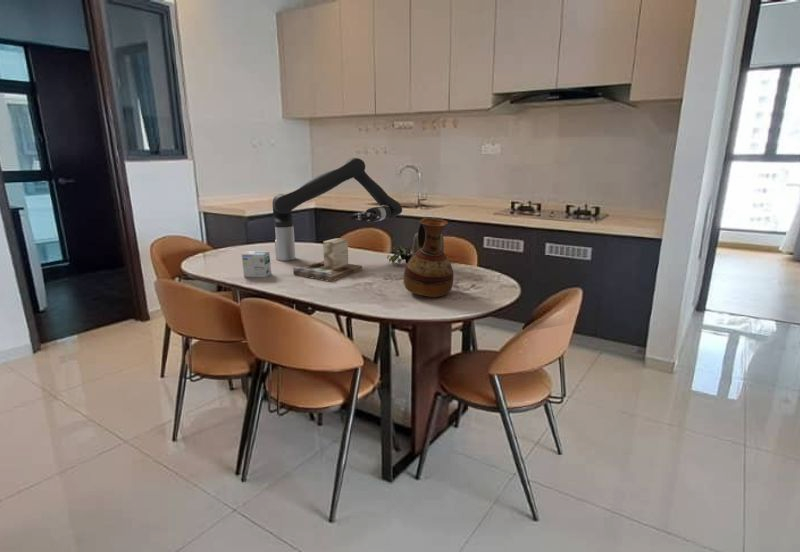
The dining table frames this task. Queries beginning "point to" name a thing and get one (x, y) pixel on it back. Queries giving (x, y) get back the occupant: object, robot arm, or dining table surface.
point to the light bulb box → (256, 264)
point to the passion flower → (402, 253)
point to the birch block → (335, 252)
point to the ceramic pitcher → (429, 262)
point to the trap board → (326, 271)
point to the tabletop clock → (415, 242)
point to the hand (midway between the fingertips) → (356, 218)
